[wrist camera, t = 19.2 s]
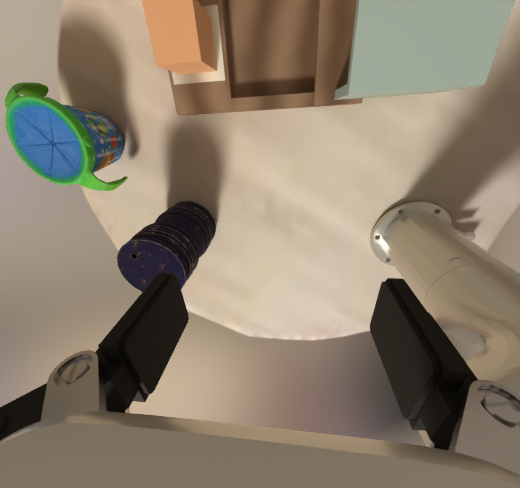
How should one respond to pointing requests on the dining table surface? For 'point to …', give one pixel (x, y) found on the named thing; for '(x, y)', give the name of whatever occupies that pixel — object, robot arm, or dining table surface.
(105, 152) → the snack cup
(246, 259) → the dining table surface
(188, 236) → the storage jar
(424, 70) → the cover
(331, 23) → the board
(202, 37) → the block
